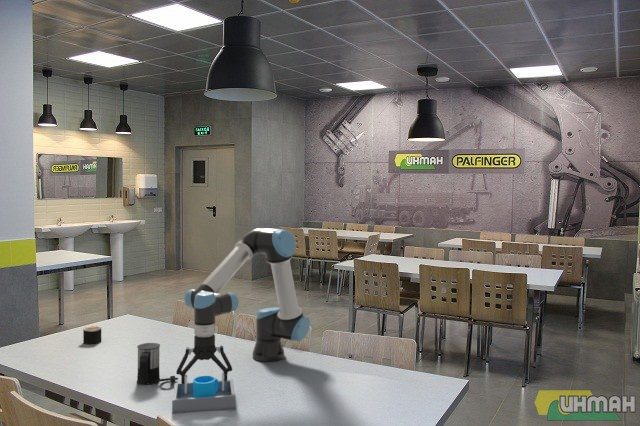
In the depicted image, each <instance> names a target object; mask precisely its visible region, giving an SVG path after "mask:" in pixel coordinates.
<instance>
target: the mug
mask: <svg viewBox="0 0 640 426" xmlns="http://www.w3.org/2000/svg"><path fill="white" fill-rule="evenodd" d="M192 382H193V398H196V397H211V396H215V393H216V392H217V390H218V387H219V382H218V379H217V378H216V377H215V376H213V375H201V376H196V377H194V378H193V379H192ZM215 382H216V387H215Z"/></svg>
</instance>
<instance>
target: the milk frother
mask: <svg viewBox="0 0 640 426" xmlns="http://www.w3.org/2000/svg"><path fill="white" fill-rule="evenodd" d="M136 348H137V376H136V377H137V380H136V383H137V384H138V385H146V386H147V385H153V384H154V385H155V384H157V383H158V382H166V381H170V383H176V381H178V380H179V377H176V375H170V376H169V378H168V377H167V378H160V348H161V344H160V343H158V342H145V343H140V344H138V345H136Z"/></svg>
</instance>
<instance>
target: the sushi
mask: <svg viewBox="0 0 640 426" xmlns="http://www.w3.org/2000/svg"><path fill="white" fill-rule="evenodd" d="M102 328H103V327H100V326H97V325H96V326H94V325H91V326H87V327H86V326H85V327H84V328H83V329H82V331H83V332H82V333H83V336H82V338H83V341H82V342H83V344H84V345H88V346H89V345H90V346H93V345H98V344H101V343H102Z"/></svg>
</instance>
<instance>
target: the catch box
mask: <svg viewBox="0 0 640 426" xmlns="http://www.w3.org/2000/svg"><path fill="white" fill-rule="evenodd" d="M217 380H218V379H217ZM218 382H219V387H218V390H217V392H216V393H215V396H211V397H196V398H193V381H189V382H188V381H187V393H185V384H182V383H181V382H174V387H173V391H172V392H173V393H172V398H171V399H172V400H171V408H172V409H171V414H172V415H173V414H175V415H176V414H186V413H201V412H212V411H213V412H216V411H226V410H227V411H230V410H236V391H235V384H234V379H227V381H224V391H222V379H219V380H218ZM215 387H216V382H215Z"/></svg>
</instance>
